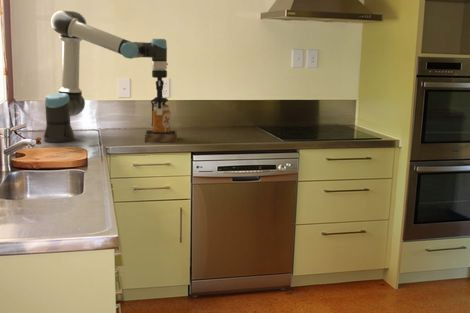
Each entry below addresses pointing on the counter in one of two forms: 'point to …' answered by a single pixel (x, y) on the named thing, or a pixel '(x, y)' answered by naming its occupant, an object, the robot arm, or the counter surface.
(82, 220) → the counter surface
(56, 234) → the counter surface
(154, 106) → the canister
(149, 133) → the cradle
